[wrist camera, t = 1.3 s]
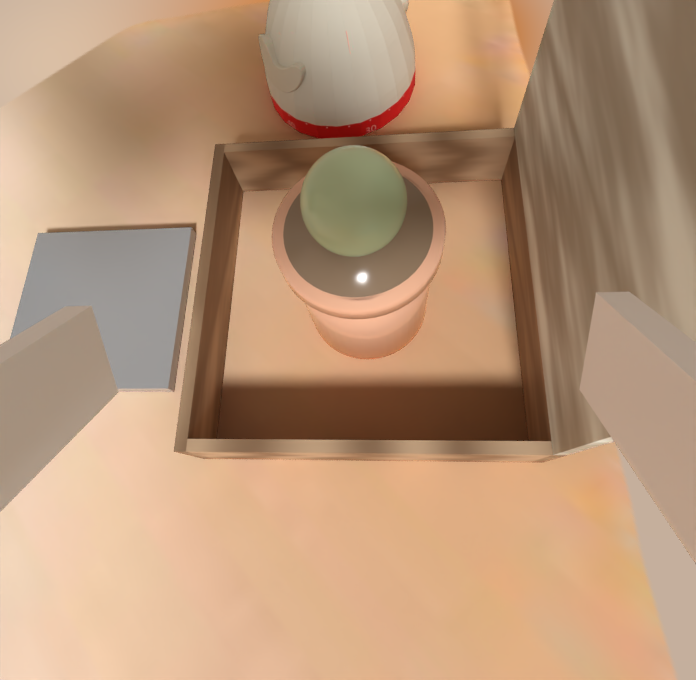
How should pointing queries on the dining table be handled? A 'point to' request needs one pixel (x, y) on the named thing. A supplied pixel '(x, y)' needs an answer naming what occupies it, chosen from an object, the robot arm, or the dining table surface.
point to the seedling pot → (361, 249)
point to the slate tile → (118, 295)
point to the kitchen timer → (338, 64)
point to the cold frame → (513, 223)
